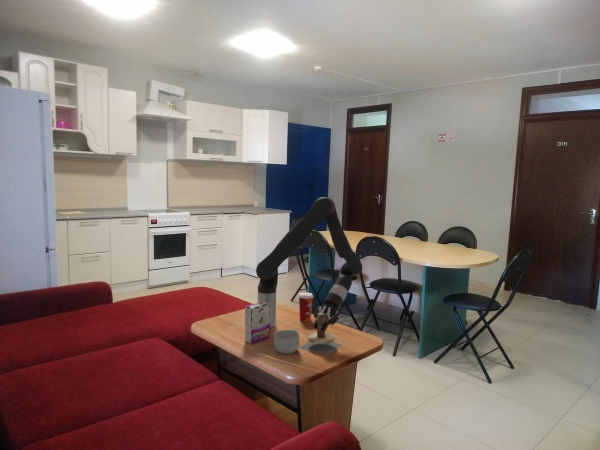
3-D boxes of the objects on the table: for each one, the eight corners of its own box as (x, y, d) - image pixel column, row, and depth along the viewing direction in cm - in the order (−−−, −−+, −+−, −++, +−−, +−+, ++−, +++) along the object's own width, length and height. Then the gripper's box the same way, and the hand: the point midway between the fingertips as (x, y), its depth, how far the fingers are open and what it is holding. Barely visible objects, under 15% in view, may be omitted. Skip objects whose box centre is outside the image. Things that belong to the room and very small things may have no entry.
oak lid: (301, 339, 172) (302, 314, 171) (315, 331, 182) (316, 308, 181) (326, 346, 166) (327, 320, 165) (339, 337, 176) (340, 313, 175)
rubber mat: (299, 348, 172) (299, 347, 172) (315, 338, 184) (315, 337, 184) (328, 356, 165) (328, 355, 165) (342, 345, 177) (342, 344, 177)
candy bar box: (262, 335, 187) (263, 300, 185) (270, 338, 184) (270, 303, 182) (244, 341, 179) (244, 305, 177) (251, 344, 175) (251, 308, 174)
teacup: (289, 359, 161) (290, 340, 161) (268, 353, 167) (268, 334, 166) (307, 348, 173) (308, 330, 172) (286, 342, 179) (287, 325, 178)
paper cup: (311, 323, 205) (311, 296, 204) (296, 321, 207) (297, 295, 205) (313, 318, 213) (314, 292, 211) (299, 317, 214) (300, 291, 213)
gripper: (320, 288, 183) (302, 321, 175) (346, 295, 173) (328, 329, 165) (327, 298, 187) (309, 329, 179) (352, 304, 178) (335, 338, 170)
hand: (318, 329), depth 172 cm, fingers closed on oak lid, 3 cm apart
